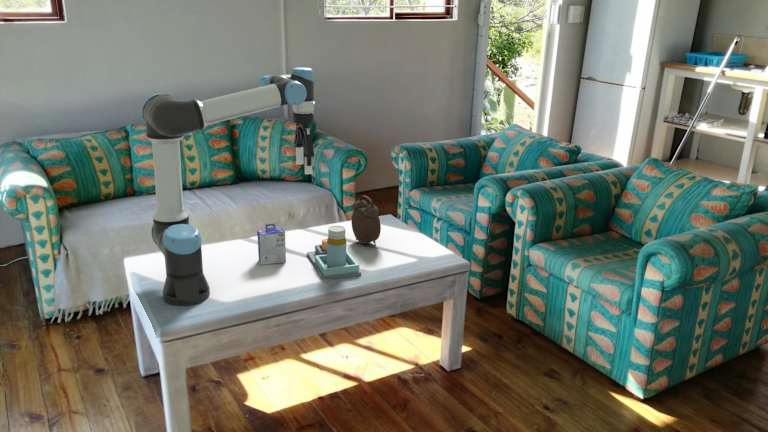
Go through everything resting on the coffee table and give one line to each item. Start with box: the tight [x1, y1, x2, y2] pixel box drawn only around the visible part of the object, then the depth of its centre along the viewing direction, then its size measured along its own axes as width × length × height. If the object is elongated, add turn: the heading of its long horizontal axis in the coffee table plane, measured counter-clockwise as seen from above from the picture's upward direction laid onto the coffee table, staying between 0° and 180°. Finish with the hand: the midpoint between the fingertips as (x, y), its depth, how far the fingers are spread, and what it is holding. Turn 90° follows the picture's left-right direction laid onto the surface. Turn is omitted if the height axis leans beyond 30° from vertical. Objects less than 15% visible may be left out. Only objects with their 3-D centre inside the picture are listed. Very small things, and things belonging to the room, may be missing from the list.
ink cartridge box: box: [256, 223, 287, 266], centre depth 249 cm, size 10×6×14 cm, turn 112°
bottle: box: [326, 225, 347, 268], centre depth 243 cm, size 7×7×15 cm
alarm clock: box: [351, 194, 382, 247], centre depth 268 cm, size 14×7×20 cm, turn 32°
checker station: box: [306, 243, 362, 281], centre depth 249 cm, size 14×24×4 cm, turn 21°
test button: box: [321, 238, 328, 251], centre depth 254 cm, size 5×5×5 cm
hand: (304, 169), depth 245 cm, fingers open, 13 cm apart
